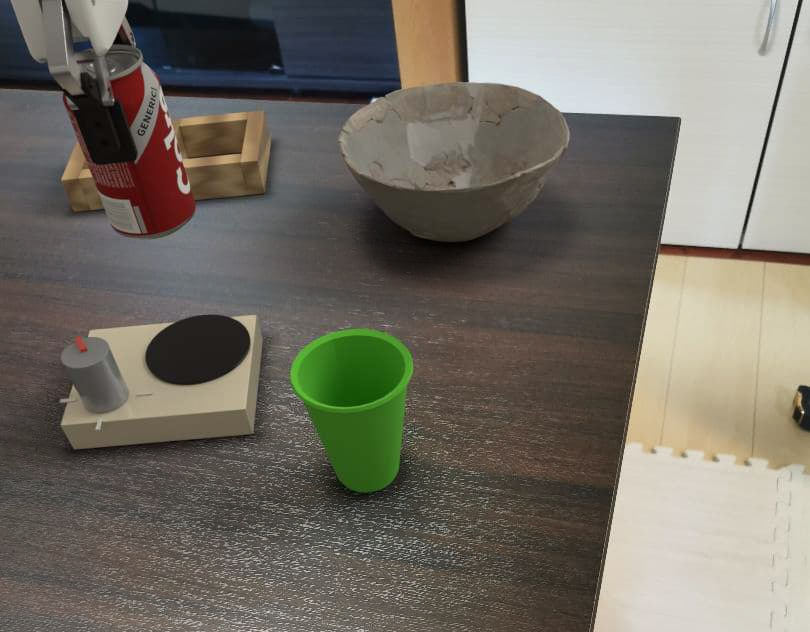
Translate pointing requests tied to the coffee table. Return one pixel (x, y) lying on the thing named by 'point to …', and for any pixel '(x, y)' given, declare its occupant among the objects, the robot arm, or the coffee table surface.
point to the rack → (197, 159)
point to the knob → (95, 374)
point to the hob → (166, 397)
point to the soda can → (141, 154)
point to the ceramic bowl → (454, 155)
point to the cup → (356, 402)
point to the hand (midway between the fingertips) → (124, 132)
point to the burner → (198, 349)
